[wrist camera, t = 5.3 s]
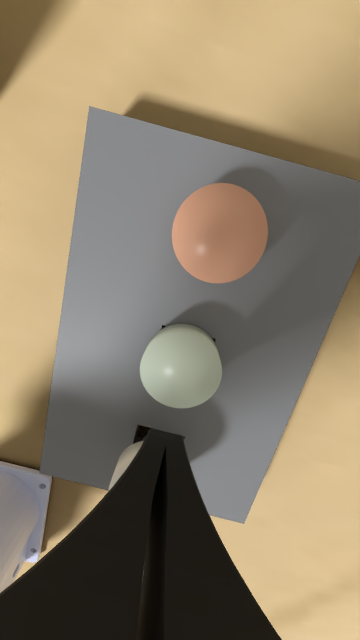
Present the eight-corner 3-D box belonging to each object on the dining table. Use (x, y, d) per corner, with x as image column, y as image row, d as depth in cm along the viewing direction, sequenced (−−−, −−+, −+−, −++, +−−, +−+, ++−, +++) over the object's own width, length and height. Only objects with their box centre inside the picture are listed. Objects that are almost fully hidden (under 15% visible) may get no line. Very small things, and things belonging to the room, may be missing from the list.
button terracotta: (236, 284, 15) (250, 293, 11) (169, 266, 15) (162, 270, 11) (259, 211, 14) (281, 197, 10) (187, 192, 14) (185, 171, 10)
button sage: (205, 381, 16) (208, 416, 13) (145, 366, 16) (132, 397, 13) (223, 324, 15) (232, 345, 12) (159, 307, 15) (149, 323, 12)
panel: (237, 490, 19) (243, 523, 17) (58, 445, 19) (39, 473, 17) (354, 200, 14) (388, 188, 12) (107, 132, 14) (89, 106, 11)
